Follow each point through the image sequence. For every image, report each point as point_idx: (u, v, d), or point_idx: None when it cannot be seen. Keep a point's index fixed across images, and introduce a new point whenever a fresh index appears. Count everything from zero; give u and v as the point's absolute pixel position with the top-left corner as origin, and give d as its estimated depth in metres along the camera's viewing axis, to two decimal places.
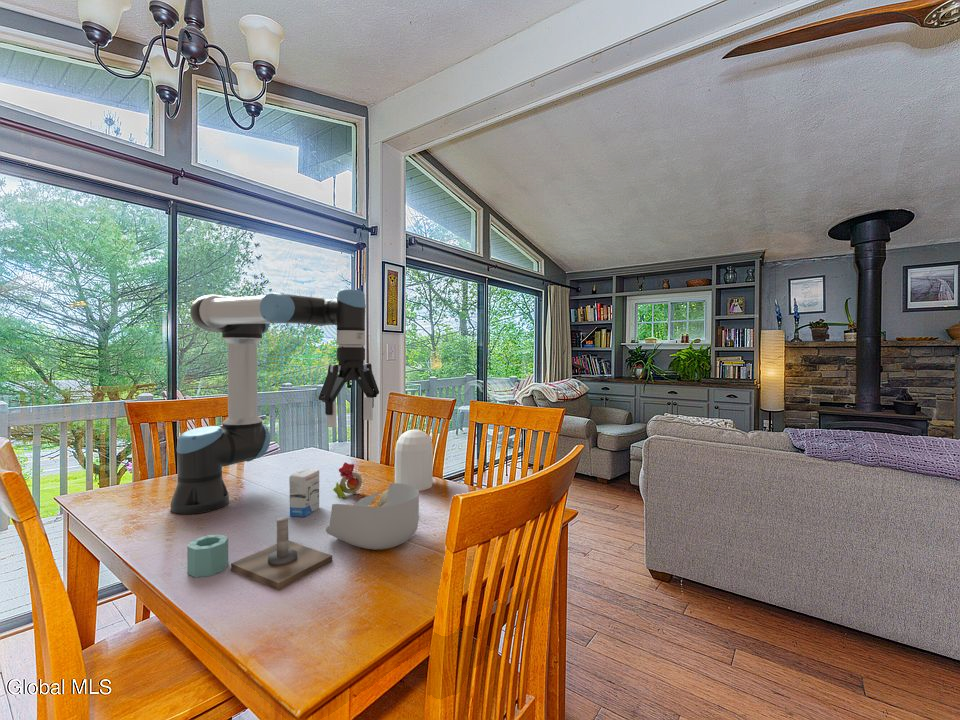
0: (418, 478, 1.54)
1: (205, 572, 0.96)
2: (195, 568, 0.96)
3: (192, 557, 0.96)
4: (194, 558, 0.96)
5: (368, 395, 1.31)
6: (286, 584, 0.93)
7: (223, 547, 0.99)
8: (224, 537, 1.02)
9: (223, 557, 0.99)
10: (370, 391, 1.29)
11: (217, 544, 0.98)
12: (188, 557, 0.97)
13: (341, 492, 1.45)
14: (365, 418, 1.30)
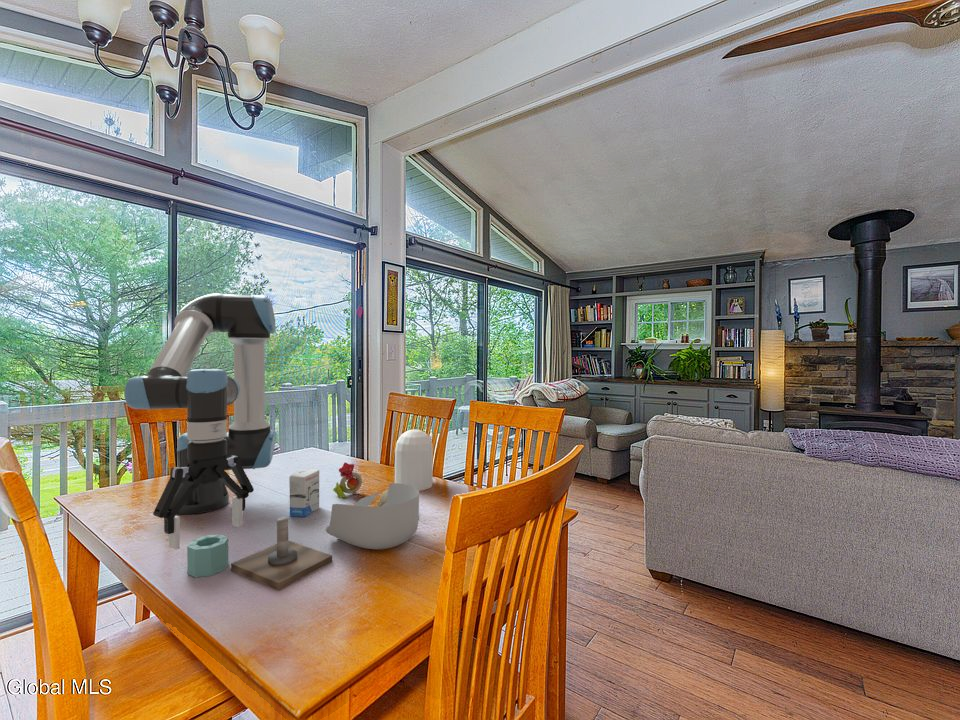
0: (418, 478, 1.54)
1: (205, 572, 0.96)
2: (195, 568, 0.96)
3: (192, 557, 0.96)
4: (194, 558, 0.96)
5: (238, 495, 1.05)
6: (286, 584, 0.93)
7: (223, 547, 0.99)
8: (224, 537, 1.02)
9: (223, 557, 0.99)
10: (239, 491, 1.04)
11: (217, 544, 0.98)
12: (188, 557, 0.97)
13: (341, 492, 1.45)
14: (234, 524, 1.05)
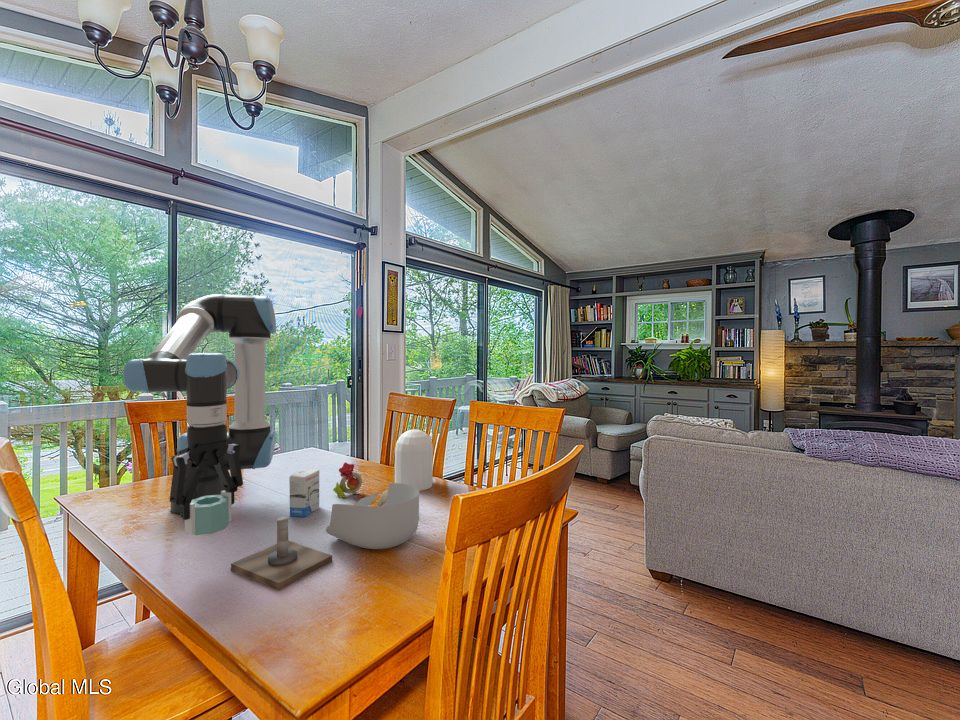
0: (418, 478, 1.54)
1: (206, 530, 0.96)
2: (195, 526, 0.96)
3: None
4: None
5: (226, 488, 1.03)
6: (286, 584, 0.93)
7: (223, 506, 0.99)
8: (224, 497, 1.02)
9: (223, 516, 0.99)
10: (229, 483, 1.02)
11: (217, 503, 0.98)
12: None
13: (341, 492, 1.45)
14: None
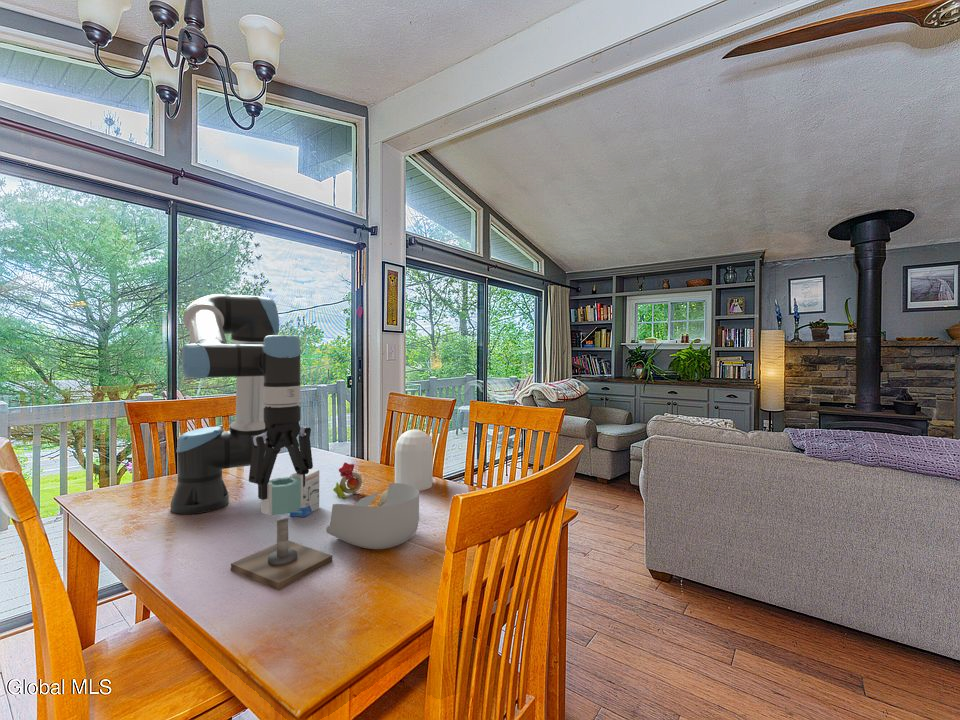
0: (418, 478, 1.54)
1: (282, 510, 0.97)
2: (272, 506, 0.97)
3: None
4: None
5: (298, 471, 1.04)
6: (286, 584, 0.93)
7: (298, 487, 1.00)
8: (297, 479, 1.03)
9: (298, 497, 1.00)
10: (301, 465, 1.03)
11: (292, 483, 0.99)
12: None
13: (341, 492, 1.45)
14: None
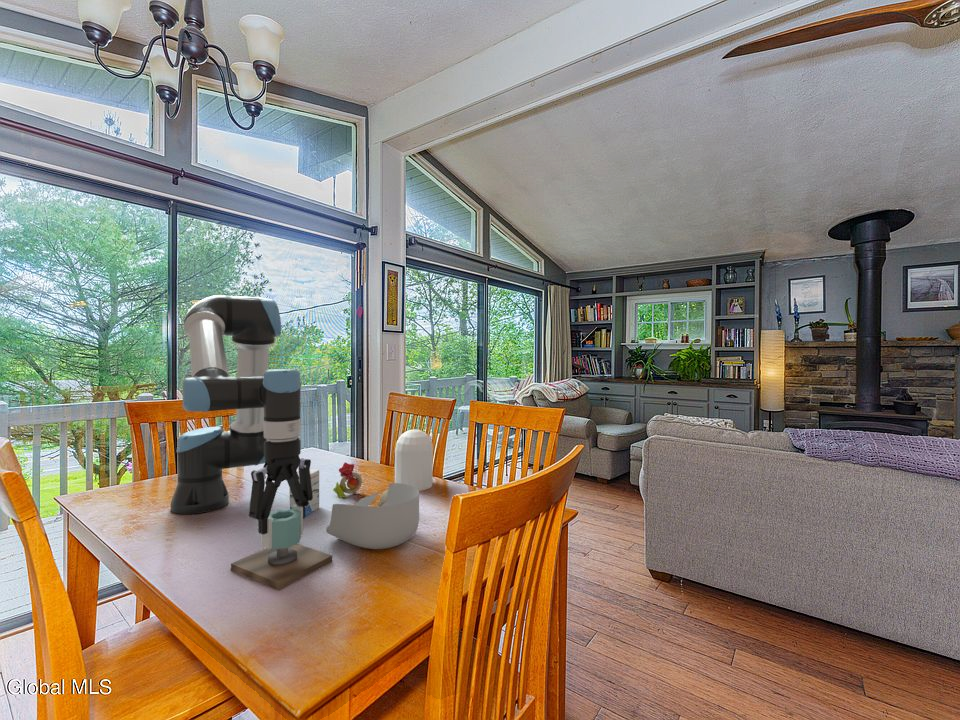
0: (418, 478, 1.54)
1: (282, 545, 0.97)
2: (273, 540, 0.97)
3: None
4: (272, 530, 0.97)
5: (298, 503, 1.04)
6: (286, 584, 0.93)
7: (298, 520, 1.00)
8: (297, 511, 1.03)
9: (298, 530, 1.00)
10: (301, 497, 1.03)
11: (292, 517, 0.99)
12: None
13: (341, 492, 1.45)
14: None
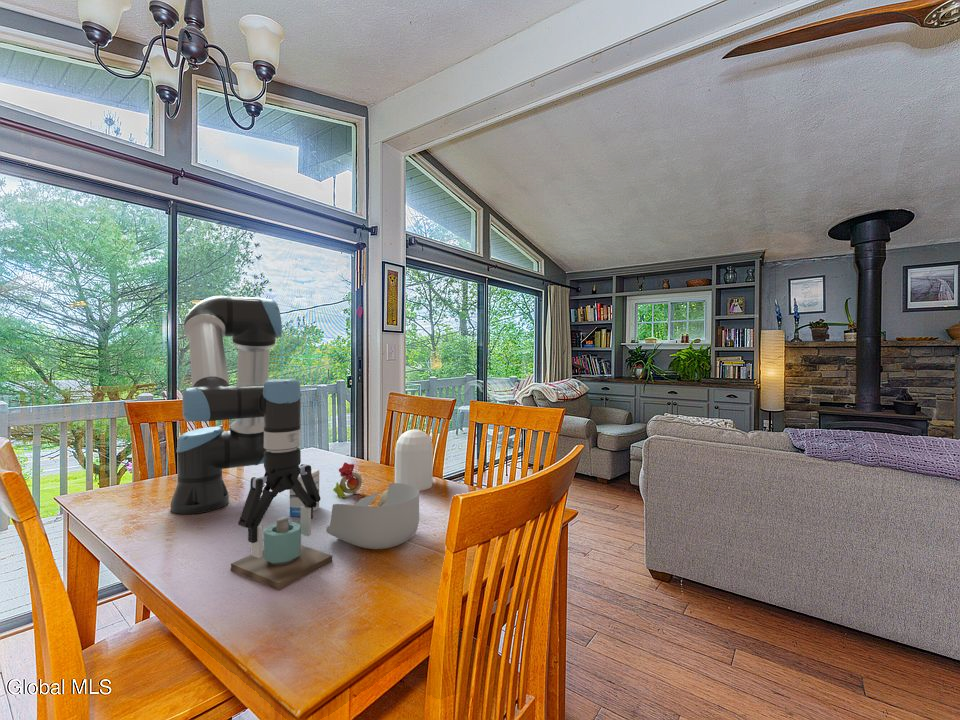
0: (418, 478, 1.54)
1: (282, 558, 0.98)
2: (272, 554, 0.97)
3: (269, 543, 0.97)
4: (271, 544, 0.97)
5: (306, 504, 1.07)
6: (286, 584, 0.93)
7: (298, 534, 1.00)
8: (297, 524, 1.03)
9: (298, 544, 1.00)
10: (308, 500, 1.05)
11: (292, 531, 0.99)
12: (265, 543, 0.98)
13: (341, 492, 1.45)
14: (302, 532, 1.06)
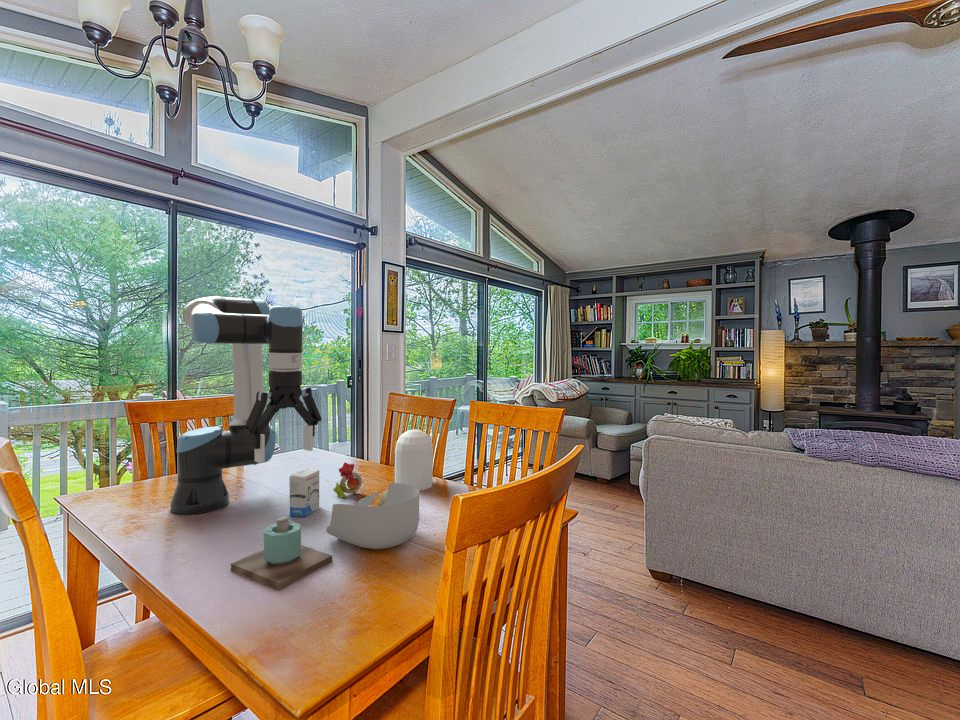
0: (418, 478, 1.54)
1: (282, 558, 0.98)
2: (272, 554, 0.97)
3: (269, 543, 0.97)
4: (271, 544, 0.97)
5: (308, 422, 1.17)
6: (286, 584, 0.93)
7: (298, 534, 1.00)
8: (297, 524, 1.03)
9: (298, 544, 1.00)
10: (310, 418, 1.16)
11: (292, 531, 0.99)
12: (265, 543, 0.98)
13: (341, 492, 1.45)
14: (304, 448, 1.17)
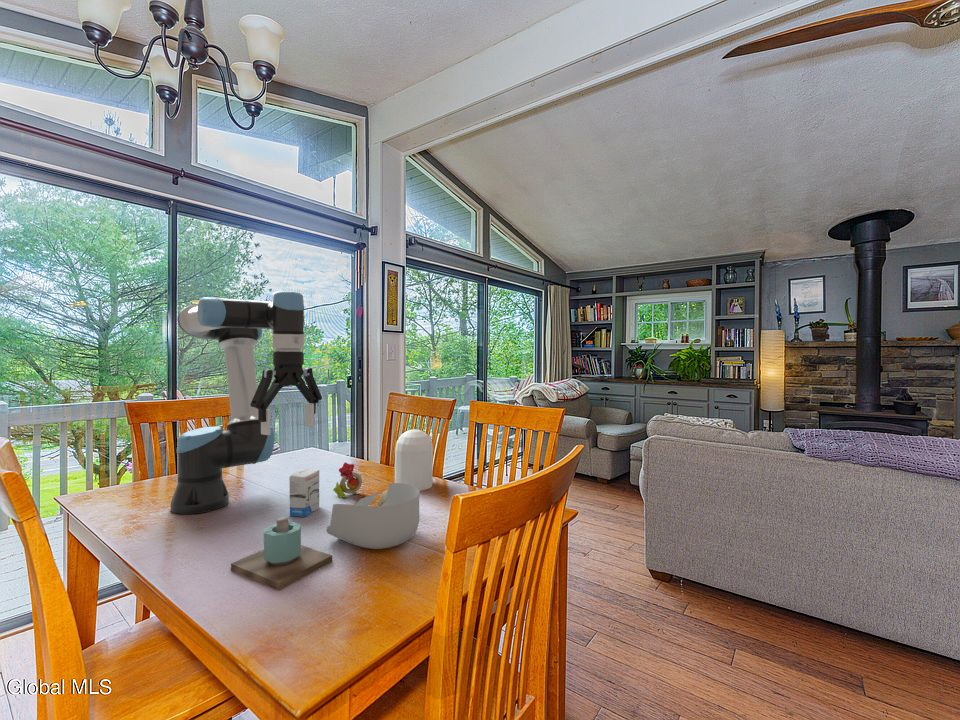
0: (418, 478, 1.54)
1: (282, 558, 0.98)
2: (272, 554, 0.97)
3: (269, 543, 0.97)
4: (271, 544, 0.97)
5: (310, 401, 1.26)
6: (286, 584, 0.93)
7: (298, 534, 1.00)
8: (297, 524, 1.03)
9: (298, 544, 1.00)
10: (311, 397, 1.25)
11: (292, 531, 0.99)
12: (265, 543, 0.98)
13: (341, 492, 1.45)
14: (306, 424, 1.26)
